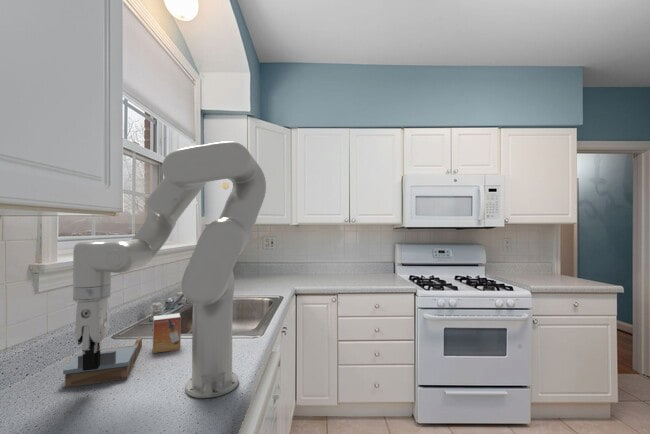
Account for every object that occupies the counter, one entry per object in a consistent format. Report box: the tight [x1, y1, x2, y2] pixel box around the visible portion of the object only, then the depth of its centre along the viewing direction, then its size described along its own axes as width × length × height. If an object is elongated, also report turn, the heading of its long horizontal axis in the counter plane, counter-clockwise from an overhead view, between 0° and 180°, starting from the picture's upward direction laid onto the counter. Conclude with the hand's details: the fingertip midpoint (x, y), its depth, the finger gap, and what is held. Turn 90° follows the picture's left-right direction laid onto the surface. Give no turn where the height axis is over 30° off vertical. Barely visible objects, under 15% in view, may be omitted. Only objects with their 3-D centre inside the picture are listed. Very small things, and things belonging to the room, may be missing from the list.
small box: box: [152, 312, 182, 354], centre depth 109 cm, size 8×6×10 cm
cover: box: [62, 345, 136, 375], centre depth 91 cm, size 12×14×4 cm
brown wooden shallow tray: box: [64, 336, 143, 388], centre depth 97 cm, size 24×13×3 cm, turn 20°
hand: (91, 368), depth 81 cm, fingers closed
